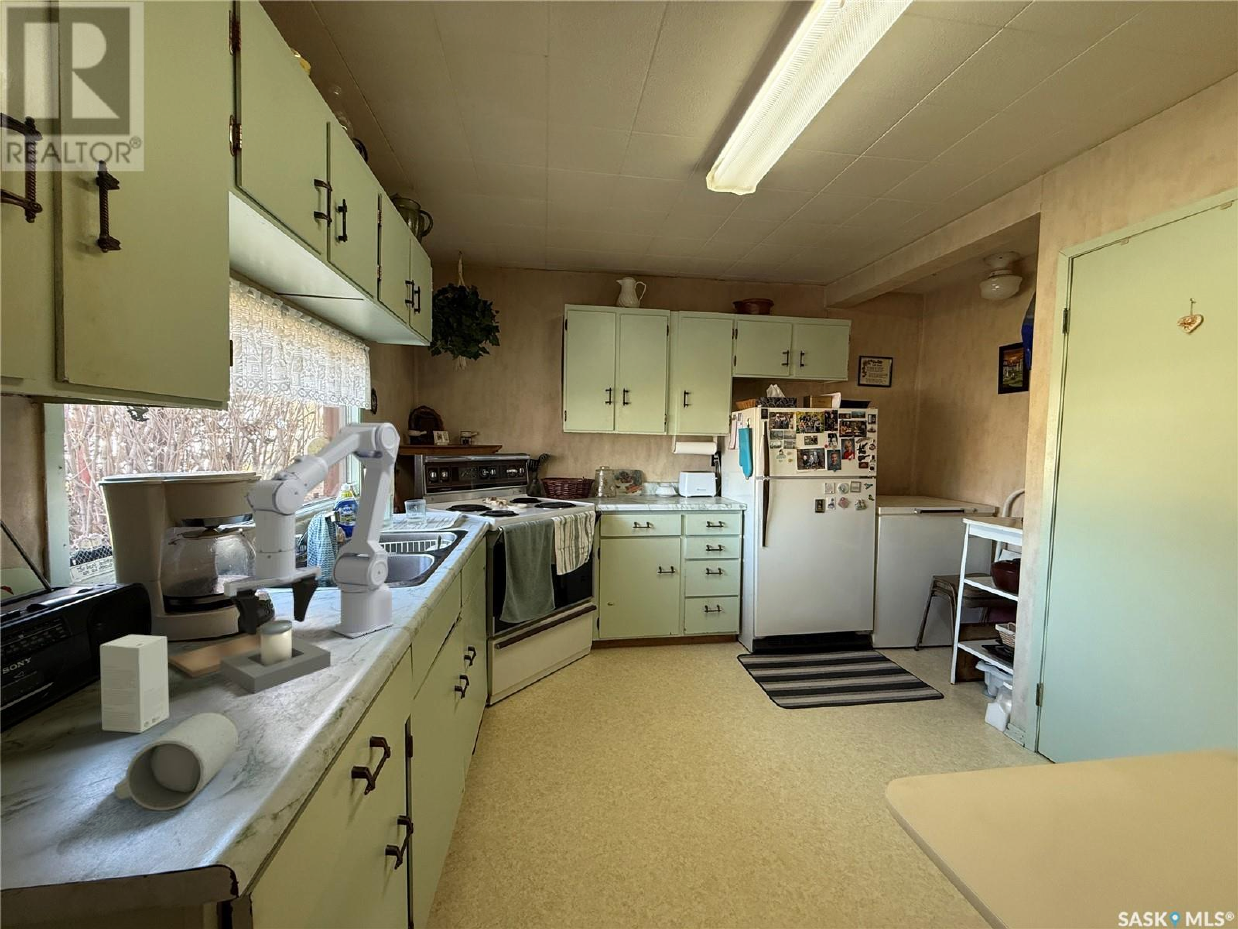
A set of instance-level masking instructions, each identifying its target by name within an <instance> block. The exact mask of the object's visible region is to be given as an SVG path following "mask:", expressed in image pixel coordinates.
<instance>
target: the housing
mask: <svg viewBox="0 0 1238 929" xmlns="http://www.w3.org/2000/svg"><path fill="white" fill-rule="evenodd" d="M328 667H331V651H329V650H327V649H324V648H323V647H320V646H317V645H315V644H312V643H310V642H308V641H305V640H303V639H300V638H298V637H296V636H294V637H292V658H291V659H288V660H285V661H282V662H279V663H276V664H273V665H270V666H267V667H264V666H262V665H261V647H260V648H257V649H253V650H250V651H247V652H243V653H240V654H237V655H233V656H230V657H227V658H224V659H220V669H219V670H220V671H219V672H220V675H222V676H223V677H225V678H227V679H228V680H230V681H232V682H234V683H235V684H237V685H239V686H240V687H242V688H244V689H246V690H248V691H249V692H251V693H253V694H256V693H261V692H263V691H265V690H267V689H268V690H269V689H271V688H273V687H277V686H278V685H281V684H286V683H287V682H289V681H292V680H294V679H298V678H301V677H303V676H305V675H309V674H311V673H314V672H317V671H320V670H323V669H325V668H328Z"/></svg>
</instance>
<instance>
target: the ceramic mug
mask: <svg viewBox="0 0 1238 929" xmlns="http://www.w3.org/2000/svg"><path fill="white" fill-rule="evenodd" d="M239 736H240V735H239V731H238V727H237V726H236V723H235V722H234V721H233V720H232V719H231V718H229V717H228V716H227V715H225V714H222V713H219V712H214V711H210V712H203V713H199V714H195V715H193V716H191V717H188V718H187V719H185V720H183V721H181V722H180V723H178V724H177V725H176V726H175V727H173V728H172V729H170V730H168V732H165V733H164V734H163V735H161V736H160V737H158V738H156V739H155V740H154V741H152V742H151V743H148V744H147V745H146V746H145V747H143V748H142V749H140V750H139V752H137V754H136V755H135V756H134V757H133V758H132V759H131V761H130V764H129V765H128V767H127V769H126V772H125V776H124V778H122V779H121V780H120V781H119V782H117V784H115V785H114V787H113V788H114V792H115V794H116V795H117V798H118V799H119V800H127V799H128V798H132V799H133V801H135V802H136V803H137V804H138V805H139V806H141V807H144V808H145V809H149V810H153V811H170V810H175V809H177V808H179V807H182V806H184V805H186V804H187V803H189V802H190V801H191V800H192V799H194V798H195V797H196V796H197V795H198V793H200V792H201V790H203V788H204V787H205V786H206V785H207V784H208V783H209V782H210V781H211V780H212V779H213V778H214V777H215V775H217V773H218V772H219V771H221V770H222V769H223V767H224V766H226V764H228V762H230V760H231V758H232V756H233V755H234V753H235V752H236V749H237V748H238V743H239Z"/></svg>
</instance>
